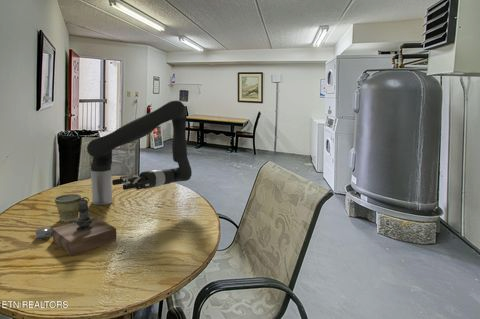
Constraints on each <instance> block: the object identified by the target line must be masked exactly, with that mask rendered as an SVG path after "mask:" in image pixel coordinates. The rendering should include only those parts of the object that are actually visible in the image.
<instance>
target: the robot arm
mask: <svg viewBox="0 0 480 319" xmlns="http://www.w3.org/2000/svg"><path fill="white" fill-rule="evenodd" d="M187 113H188V110H187V107H186V106H185V105H184V103H183V102H182V101H180V100H179V99H178V100H177V99H173V100H170V101H168V102H166V103H165V104H164V105H162V106H160V107H158V108H157V109H155V110H154V111H151V112H148V113H146V114H145V115H142V116H141V117H137V118H135V119H134V120H131V121H129V122H128V123H127V122H126V124H124V125H122V126H120V127H119V128H117V129H115V130H114V131H112V132H111V133H109V134H106V135H103V136H101V137H97V138H94V139H92V140H90V142H89V143H88V144H87V146H86V151H87V154H88V155H90V156H91V157H92V162H91V164H90V178H91V181H90V182H91V200H92V204H93V205H95V206H105V205H106V206H107V205H110V204H111V203H113V191H112V190H113V186H117V185H122V189H123V190H124V191H126V190H131V189H133V190H137V191H139V190H146V189H151V188H157V187H161V186H163V185H164V186H165V185H169V184H172V183H179V182H187V181H189V180H190V179H191V177H192V174H193V171H192V167H191V165H190V161H189V159H188V149H187V148H188V147H187V138H186V137H187V136H186V132H187V131H186V125H187V124H186V123H187ZM169 121H171V123H172V130H173V131H172V132H173V134H172V144H171V146H172V149H171V150H172V160H173V162H175V163H177V165H178V167H173V168H168V169H167V168H166V169H154V170H148V171H147V170H146V171H141V172H140V173H139V175H133V174H131V175H123V176H120V177H119V178H116V179H115V178H114V179H112V165H113V164H112V163H113V150H115V149H117V148H119V147H121V146H125V145H127V144H130V143H133V142H135V141H139V140H140V139H142V138H144V137H146V136H148V135H150V134H151V133H153V131H154V130H155V129H157V128H158V127H160V125H162V124H164V123H167V122H169ZM112 185H113V186H112Z"/></svg>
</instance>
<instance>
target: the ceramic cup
mask: <svg viewBox="0 0 480 319" xmlns="http://www.w3.org/2000/svg"><path fill="white" fill-rule="evenodd" d="M82 198H84V199H85V200H87V201H88V203H89V202H90V199H89V197H88V196H81V195H80V194H77V193H68V194H67V193H66V194H61V195H57V196H56V197H54V203H55V206H56V208H57V211H58V212H57V213H58V215H59V219H60V221H61V222H63V221H64V222H63V223H69V222H70V221H71V222H75V220H76V219H77V218H79V211H78V209H79V201H80V200H82ZM71 222H70V223H71Z"/></svg>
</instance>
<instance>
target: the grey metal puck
mask: <svg viewBox="0 0 480 319" xmlns="http://www.w3.org/2000/svg"><path fill="white" fill-rule="evenodd" d="M51 236H52V237H53V233H52V228H51V227H49V226H46V227H40V228H38V229H36V230H35V239H36V240H37V239H45V240H48V239H50V238H52V237H51ZM47 238H48V239H47Z"/></svg>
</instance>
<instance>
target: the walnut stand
mask: <svg viewBox="0 0 480 319" xmlns="http://www.w3.org/2000/svg"><path fill="white" fill-rule="evenodd" d="M90 225H91V226H93V228H92V229H90V230H87V231H78V230H77V228H78V227H79V226H78V225H77V223H76V221H74V222H72V223H71V222H70V223H68V224H63V225H60V226H55V227H52V228H51V231H52V242H54V243H55V244H56V245H57V246H58V247H60V248H61V249H62V250H63V251H65V252H66V253H67V255H70V256H71V257H73V256H76V255H79V254H82V253H85V252H88V251H91V250H94V249H96V248H99V247H103V246H105V245H108V244H112V243H114V242H117V239H118V238H117V228H116V227H115V226H112V225H111V224H109V223H108V222H105V221H104V220H102V219H101V218H98V217H97V216H95V217H93V220H92V223H91V224H90Z"/></svg>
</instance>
